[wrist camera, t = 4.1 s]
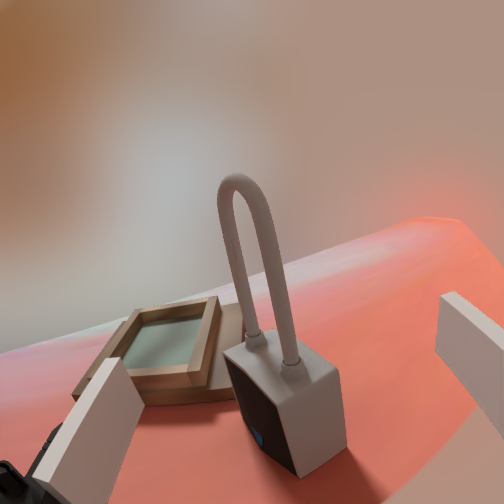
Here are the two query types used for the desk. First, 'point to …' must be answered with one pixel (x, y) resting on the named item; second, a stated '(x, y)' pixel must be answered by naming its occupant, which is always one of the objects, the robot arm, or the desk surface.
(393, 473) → the desk surface
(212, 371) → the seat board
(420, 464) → the desk surface
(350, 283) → the desk surface
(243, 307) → the padlock
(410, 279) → the desk surface
